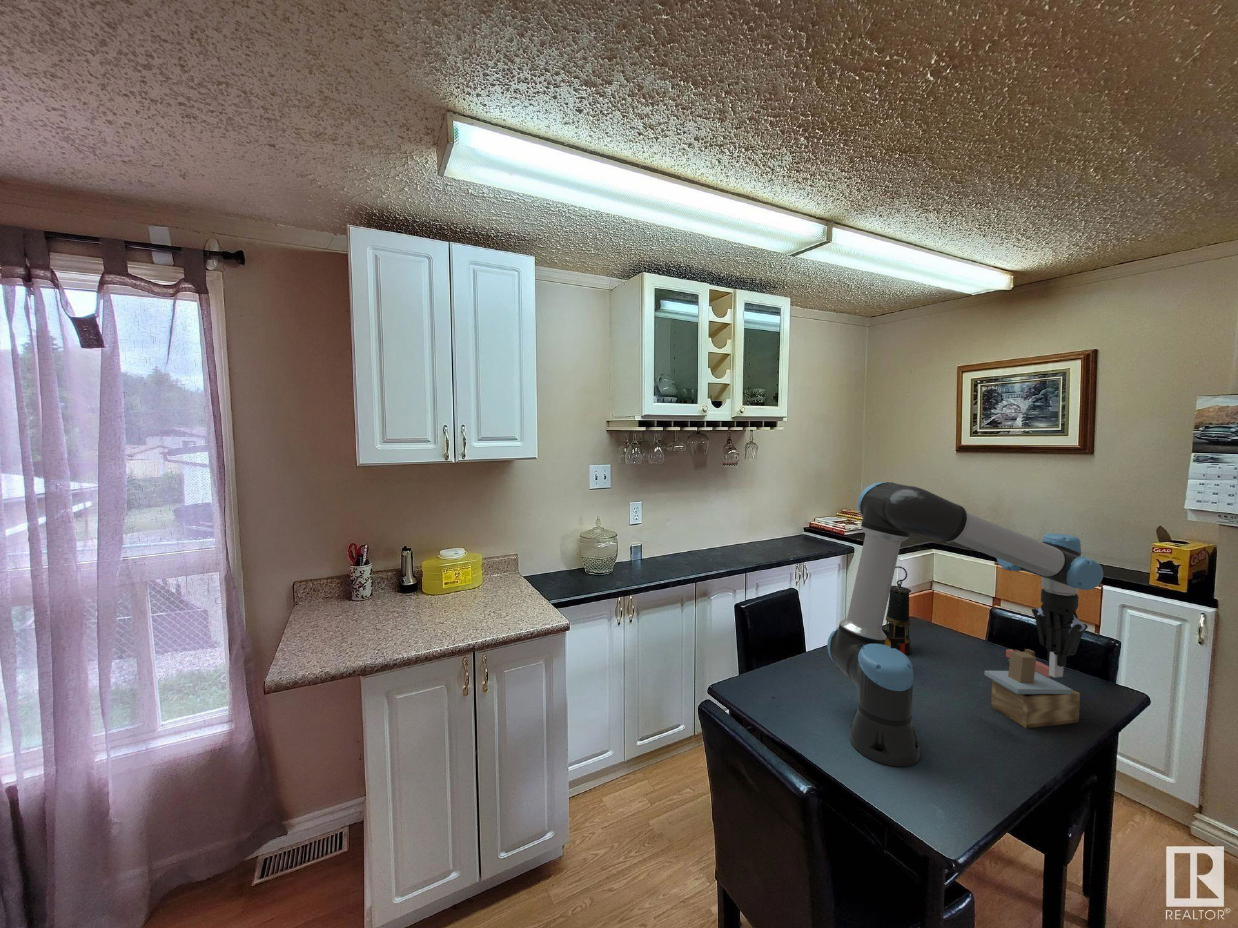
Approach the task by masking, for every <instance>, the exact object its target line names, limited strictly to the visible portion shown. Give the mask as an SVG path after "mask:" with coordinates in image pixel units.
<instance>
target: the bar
mask: <svg viewBox="0 0 1238 928" xmlns="http://www.w3.org/2000/svg"><path fill="white" fill-rule="evenodd" d="M1013 650H1014V649H1012V648H1011V649H1006V650H1005V657H1006V658H1009V659H1010V655H1011V652H1013ZM1035 671H1037V672H1039V673H1041V674H1044V675H1046V676H1048V678H1050V679H1052V678H1053V677H1052V676H1050V675H1049V665H1046V664H1045V663H1043V662H1040V661H1037V660H1036V665H1035Z"/></svg>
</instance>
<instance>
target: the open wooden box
mask: <svg viewBox="0 0 1238 928" xmlns="http://www.w3.org/2000/svg"><path fill="white" fill-rule="evenodd" d="M991 680H992V681H991V682H992V683H991V684H992V685H991V706H990V707H991V708H992V709H994V710H996V711H997V712H999V713H1001V714H1002V715H1004V716H1006V717H1007V718H1009V719H1010V720H1012V721H1014V722H1015V723H1017V724H1019V725H1020V726H1022V727H1023V728H1025V729H1032V728H1040V727H1041V728H1042V727H1051V726H1059V725H1068V724H1076V723H1077V724H1078V723H1080V722H1079V719H1080V699H1081V698H1080V697H1081V693H1080V692H1077V691H1076V690H1074V689H1072V694H1044V695H1022V694H1015V693H1014V692H1012V691H1010V690H1008V689H1007V688H1005V687H1003V686H1001V685H1000V684H998V683H996V682H994V681H993V679H991Z"/></svg>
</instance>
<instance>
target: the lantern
mask: <svg viewBox="0 0 1238 928" xmlns="http://www.w3.org/2000/svg"><path fill="white" fill-rule="evenodd" d="M895 569H902V570H903V571H904V574H905V576H904V578H903V579H898V580H897V581H896V585H891V589H890V593H889V598H888V603H887V612H886V615H885V621H886V626H885V630H887V631H888V632H890V633H891V638H905V655H906V656H909V655H910V654H912V649H911V642H912V639H911V638H910V625H911V620H910V594H911V593H912V590H911V589H910V588H908V587H905V586H902V585H903V582H904V581H905V580H906V579H907V578H908V571H907V570H906V569H905V567H903V566H898V565H896V567H895ZM899 582H900V583H899ZM891 648H895V649H897V650H899V651H900V644H891Z"/></svg>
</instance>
